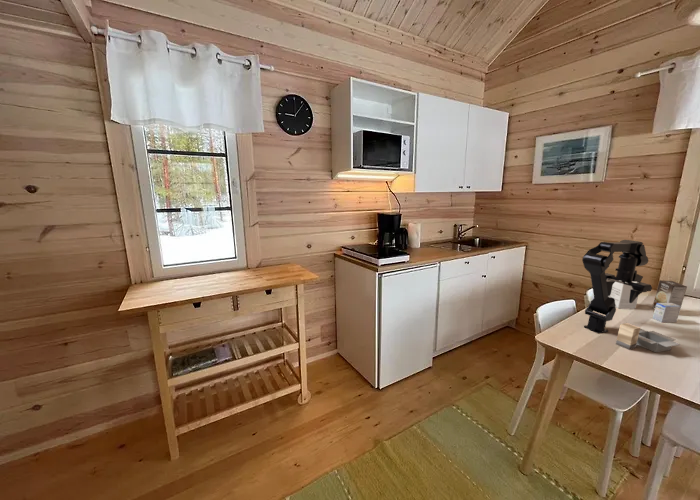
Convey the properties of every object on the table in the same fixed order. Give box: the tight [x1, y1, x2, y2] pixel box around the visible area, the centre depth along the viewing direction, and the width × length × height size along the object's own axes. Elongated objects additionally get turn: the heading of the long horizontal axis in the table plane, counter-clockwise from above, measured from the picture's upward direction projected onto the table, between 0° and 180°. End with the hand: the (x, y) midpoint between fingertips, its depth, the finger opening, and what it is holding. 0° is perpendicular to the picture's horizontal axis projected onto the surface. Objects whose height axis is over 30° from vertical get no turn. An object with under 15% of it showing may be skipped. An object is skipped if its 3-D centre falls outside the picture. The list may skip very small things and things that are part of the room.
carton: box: [636, 328, 681, 353], centre depth 120 cm, size 14×14×4 cm
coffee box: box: [652, 279, 688, 310], centre depth 154 cm, size 9×6×16 cm
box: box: [615, 322, 641, 350], centre depth 119 cm, size 4×4×9 cm
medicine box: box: [652, 303, 682, 323], centre depth 144 cm, size 8×4×9 cm, turn 92°
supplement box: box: [608, 281, 639, 310], centre depth 161 cm, size 9×9×15 cm
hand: (619, 299), depth 137 cm, fingers open, 9 cm apart
